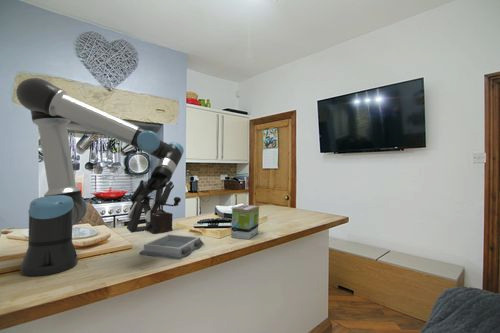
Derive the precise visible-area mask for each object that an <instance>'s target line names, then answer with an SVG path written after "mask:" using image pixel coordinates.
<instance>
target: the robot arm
mask: <svg viewBox="0 0 500 333" xmlns="http://www.w3.org/2000/svg"><path fill="white" fill-rule="evenodd" d="M16 97H17V100H18V102H19V103H20V104H21V105H22V106H23V107H24V108H25V109H27V110H29V111H30V114H31V122H32V123H33V124H34V125H35V126H37V127H38V131H39V138H40V144H41V150H42V157H43V163H44V169H45V176H46V177H45V178H46V183H47V187H48V188H47V191H46V192H45V193H44V195H43V196H40V197H37V198H35V199H33V200H32V201H31V202H30V203H29V209H28V210H27V211H28V212H27V213H28V244H27V246H28V247H27V250H26V252H25V255H24V257H23V259H22V262H21V264H20V270H19V271H20V274H21V275H22V276H27V277H38V276H40V277H41V276H47V275H53V274H58V273H61V272H64V271H67V270H70V269H72V268H74V267H75V266H77V265H78V263H79V262H78V260H79V258H78V257H79V256H78V254H77V251H76V248H75V245H74V243H73V226H75V225H76V224H77V225H78V223H79V222H81V221H82V220H83V218H84V217H85V216H86V214H87V210H88V206H87V202H86V200H85V199H84V198H83V194H82V189H81V188H79V187H78V186H77V185H76V179H75V173H74V166H73V160H72V153H71V145H70V139H69V133H68V125H69V124H70V123H71V122H74V123H76V124H79V125H81V126H83V127H86V128H89V129H91V130H94V131H96V132H98V133H101V134H103V135H106V136H107V137H110V138H113V139H114V140H115V139H116V140H117V141H120V142H122V143H125V144H127V145H130V146H132V147H134V148H136V149H138V150H140V151H142V152H144V153H147V154H148V155H150V156H152V157H155V158H156V159H158V162H157V164H155V167H154V169H153V170H152V172H151V173H150V174H151V175H150V178H148V180H145V181H144V180H143V179H141V180H140V181H139V185H138V186H137V187H136V189H135V190H134V191H133V193H132V195H131V197H130V198H129V200H130V202H131V203H132V205H130V207H129V212H128V214H127V216H126V217H127V219H128V220H129V221H131V219H132V216H133V213H134V210H135V206H136V203H137V199H136V198H137V196H138V195H142V196H143V195H145V196H148V197H149V195H150V194H151V193H153V192H154V191H155V197H154V200H153V201H154V202H151V203H150V208H151V210H152V213H153V214H154V213H156V211H157V210H158V209H159V206H160V207H161V206H166V205H165V204H167V201H168V198H169V196H170V194H171V191H172V190H173V189H174V187H175V185H174V183H173V181H172V180H171V179H172V177H173V175H174V173H175V171H176V169H177V167H178V165H179V163H180V161H181V159H182V157H183V154H184V151H185V150H184V146H182V144H180V143H178V142H174V141H171V142H169V143H167V142H165V141H162V140H161V139H160V137H159V135H158V134H157V133H156V132H154V131H152V130H147V129H145V128H143V127H140V126H139V125H136V124H134V123H132V122H129V121H127V120H125V119H122V118H119V117H117V116H115V115H113V114H111V113H109V112H106V111H104V110H103V109H100V108H97V107H95V106H93V105H91V104H88V103H86V102H84V101H81V100H80V99H77V98H74V97H73V96H70V95H68V92H67V91H66V90H64V89H62V88H59V87H57V86H56V85H54V84H52V83H51V82H49V81H48V80H45V79H42V78H39V77H32V78H31V77H30V78H27V79H24V80H22V81H21V82H20V83H19V84H18V85H17V87H16ZM143 200H144V198H143V199H142V202H143ZM144 219H145V222H146V221H147V222H150V210H149V211H147V213H146V215H145V214H144Z"/></svg>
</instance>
